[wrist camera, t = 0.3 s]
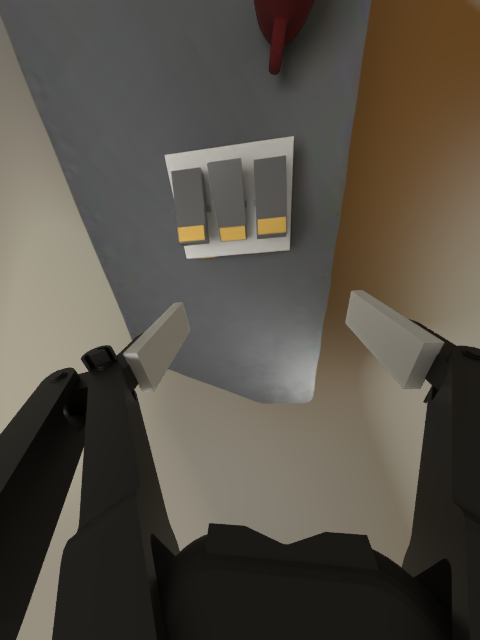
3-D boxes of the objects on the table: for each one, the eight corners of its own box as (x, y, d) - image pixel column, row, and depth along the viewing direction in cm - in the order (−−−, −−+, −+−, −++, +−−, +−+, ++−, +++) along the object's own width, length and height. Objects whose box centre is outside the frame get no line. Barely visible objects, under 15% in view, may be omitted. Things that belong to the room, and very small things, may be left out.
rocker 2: (208, 162, 24) (206, 164, 23) (241, 157, 24) (240, 159, 23) (221, 238, 31) (220, 242, 30) (247, 235, 31) (247, 240, 30)
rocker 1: (175, 177, 28) (170, 169, 26) (203, 174, 27) (199, 165, 26) (183, 246, 30) (178, 243, 28) (209, 243, 29) (206, 240, 27)
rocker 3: (253, 167, 27) (253, 158, 25) (284, 163, 26) (286, 153, 24) (256, 239, 28) (256, 235, 26) (285, 236, 28) (287, 233, 26)
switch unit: (177, 164, 32) (158, 150, 26) (288, 149, 30) (296, 129, 24) (194, 256, 39) (183, 262, 33) (285, 248, 37) (291, 253, 31)
